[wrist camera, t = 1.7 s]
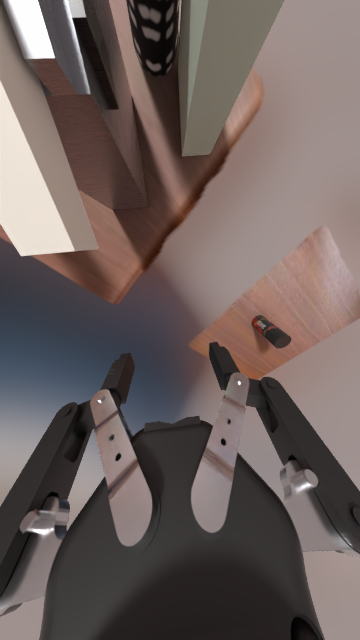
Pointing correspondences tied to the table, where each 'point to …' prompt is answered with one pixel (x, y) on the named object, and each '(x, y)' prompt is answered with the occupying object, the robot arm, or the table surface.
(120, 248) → the table surface
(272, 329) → the deodorant
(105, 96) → the tower
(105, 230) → the table surface
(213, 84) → the pale green tall brick
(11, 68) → the cream tall brick
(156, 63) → the black white cylinder
